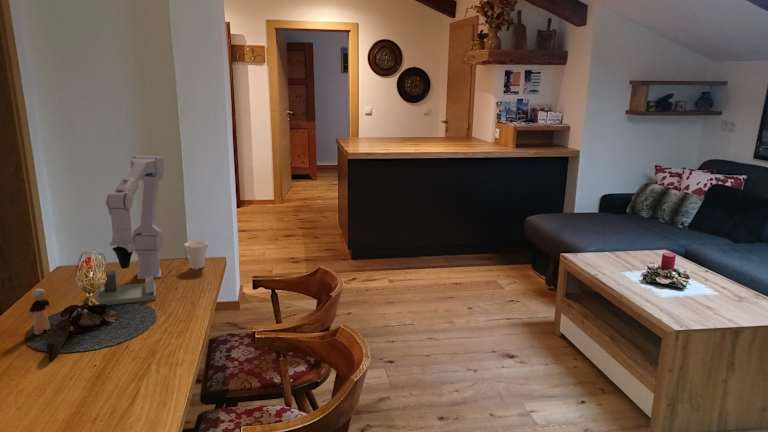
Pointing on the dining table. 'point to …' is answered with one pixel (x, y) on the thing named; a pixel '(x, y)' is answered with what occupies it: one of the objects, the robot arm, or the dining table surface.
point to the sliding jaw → (149, 284)
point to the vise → (124, 294)
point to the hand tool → (58, 339)
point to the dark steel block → (111, 282)
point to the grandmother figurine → (39, 311)
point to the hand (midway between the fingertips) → (125, 267)
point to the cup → (196, 253)
